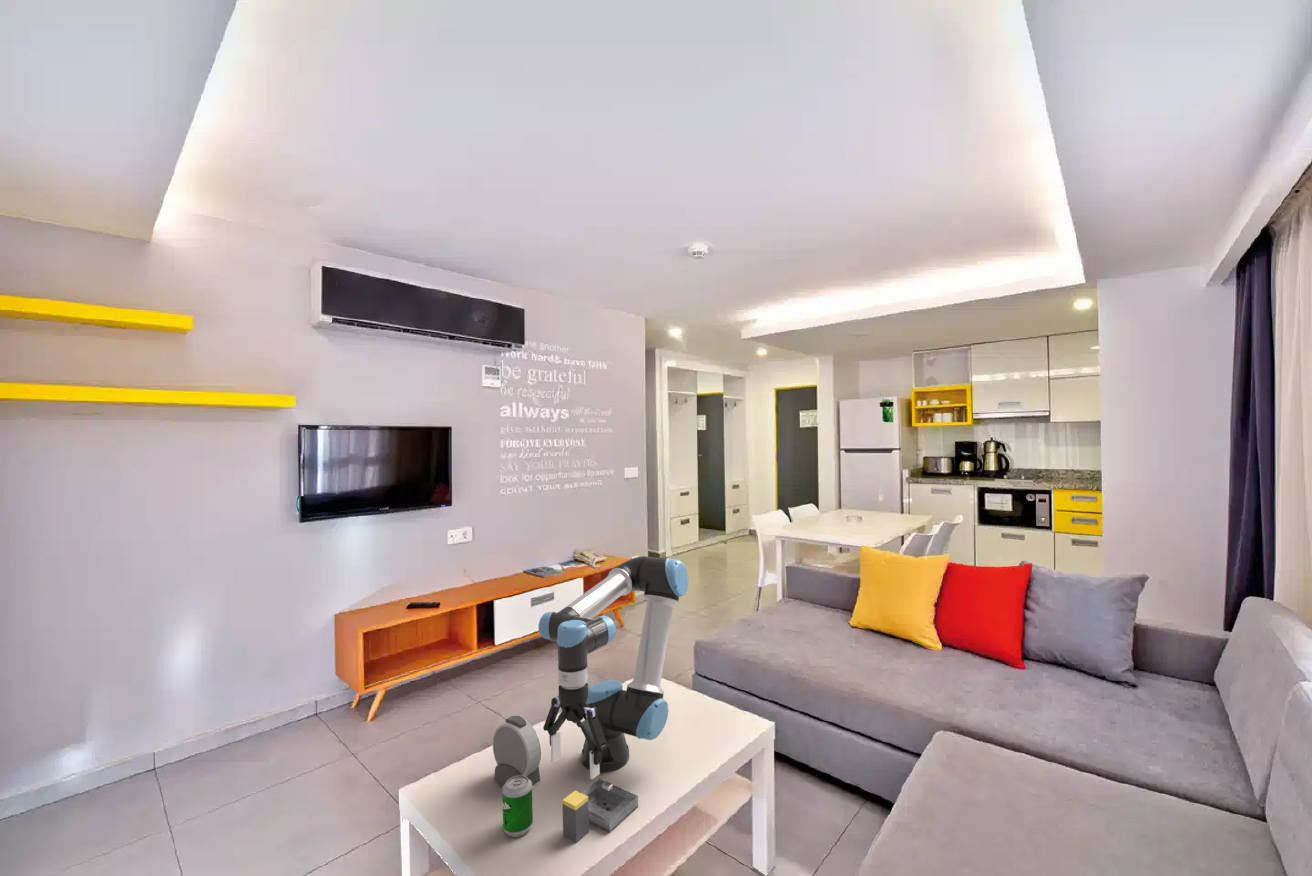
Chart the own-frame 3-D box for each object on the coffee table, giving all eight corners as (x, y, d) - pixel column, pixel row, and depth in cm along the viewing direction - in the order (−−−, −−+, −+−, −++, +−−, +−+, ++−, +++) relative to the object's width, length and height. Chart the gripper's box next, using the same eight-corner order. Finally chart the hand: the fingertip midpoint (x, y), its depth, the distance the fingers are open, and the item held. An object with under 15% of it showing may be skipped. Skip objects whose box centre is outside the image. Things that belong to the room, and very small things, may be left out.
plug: (563, 836, 137) (562, 800, 137) (575, 825, 141) (575, 790, 141) (576, 843, 135) (575, 806, 135) (589, 832, 138) (588, 796, 139)
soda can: (535, 818, 144) (534, 773, 144) (529, 838, 137) (528, 790, 137) (507, 820, 144) (506, 774, 144) (499, 840, 136) (498, 792, 137)
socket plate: (570, 812, 146) (569, 799, 146) (599, 789, 156) (599, 776, 156) (609, 832, 138) (609, 818, 138) (638, 807, 148) (637, 793, 148)
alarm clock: (548, 779, 161) (547, 718, 162) (522, 798, 153) (521, 733, 153) (512, 763, 170) (511, 705, 171) (485, 780, 162) (484, 718, 162)
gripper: (528, 678, 143) (530, 759, 142) (600, 701, 129) (602, 791, 128) (549, 668, 149) (551, 746, 148) (620, 689, 135) (622, 776, 134)
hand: (574, 767), depth 138 cm, fingers open, 13 cm apart
